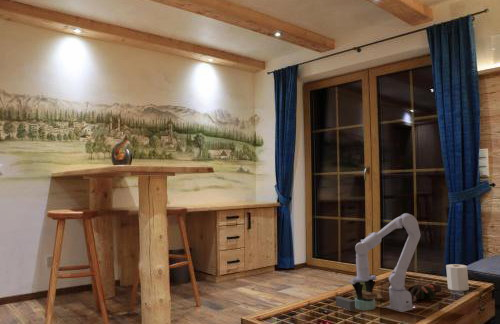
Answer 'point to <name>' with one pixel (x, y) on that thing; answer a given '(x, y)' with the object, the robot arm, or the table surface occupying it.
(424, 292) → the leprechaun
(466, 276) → the toilet paper
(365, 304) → the bowl
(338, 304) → the grey rectangular block
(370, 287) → the robot arm
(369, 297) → the walnut board
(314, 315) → the table surface
